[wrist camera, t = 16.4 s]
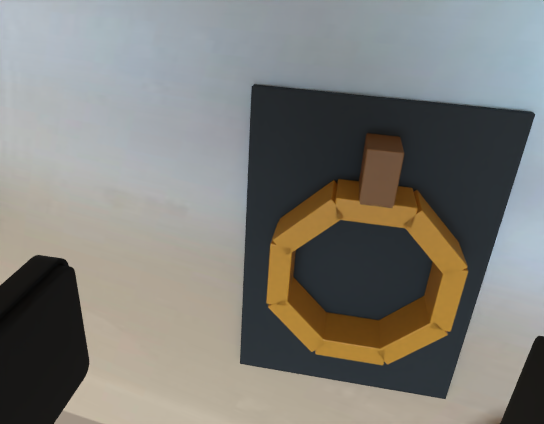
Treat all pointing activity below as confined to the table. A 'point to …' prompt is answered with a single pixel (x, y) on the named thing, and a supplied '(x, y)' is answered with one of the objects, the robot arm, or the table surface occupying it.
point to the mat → (370, 237)
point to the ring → (381, 211)
